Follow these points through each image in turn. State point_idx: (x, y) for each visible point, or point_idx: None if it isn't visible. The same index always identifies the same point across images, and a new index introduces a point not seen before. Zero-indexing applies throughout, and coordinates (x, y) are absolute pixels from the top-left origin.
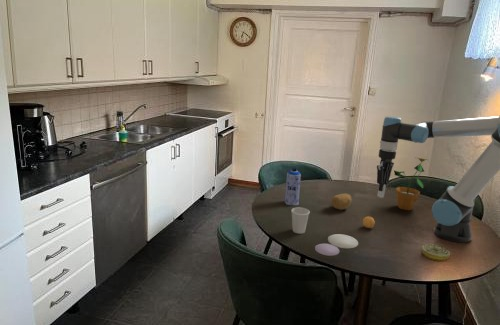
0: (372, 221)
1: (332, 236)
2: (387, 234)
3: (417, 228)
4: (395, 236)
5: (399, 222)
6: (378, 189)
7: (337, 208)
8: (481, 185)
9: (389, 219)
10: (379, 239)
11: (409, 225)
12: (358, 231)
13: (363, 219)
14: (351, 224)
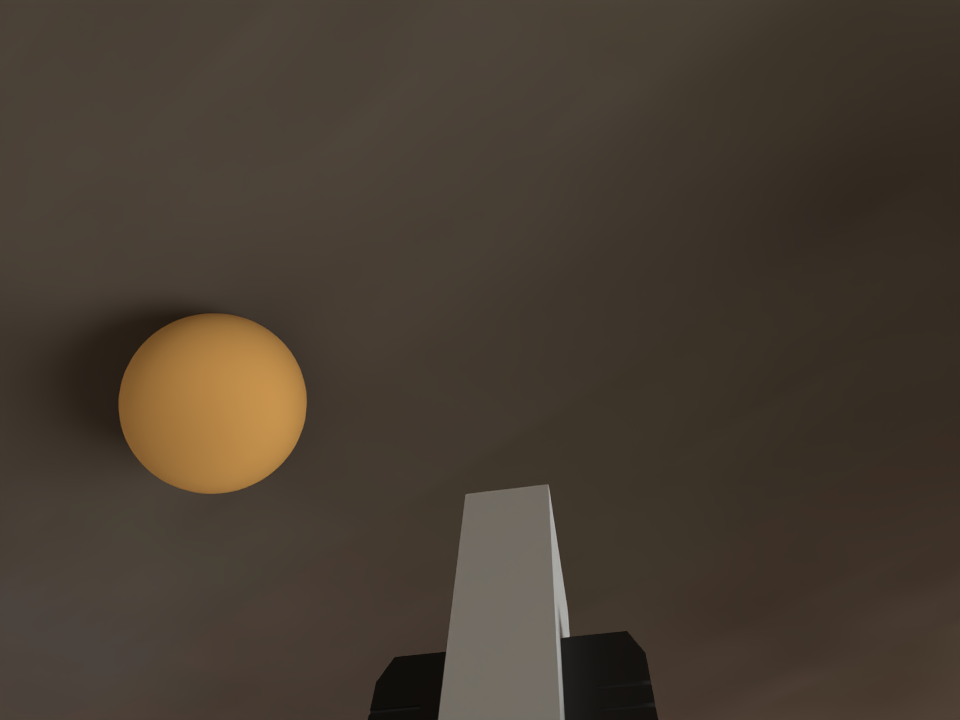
0: (193, 491)
1: None
2: (317, 608)
3: (820, 700)
4: (360, 679)
5: (810, 492)
6: (451, 623)
7: None
8: None
9: (791, 357)
10: (118, 631)
11: (827, 609)
12: (26, 378)
13: (140, 355)
14: (90, 173)
